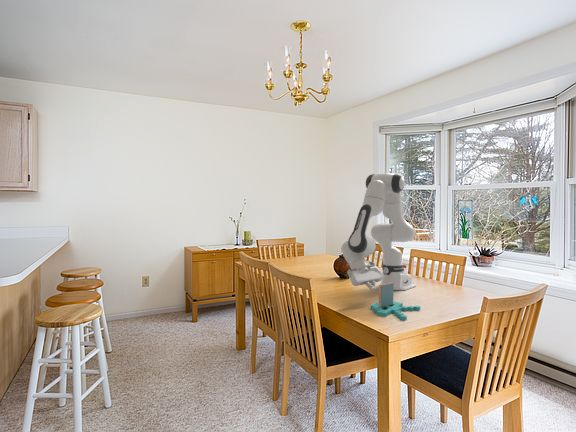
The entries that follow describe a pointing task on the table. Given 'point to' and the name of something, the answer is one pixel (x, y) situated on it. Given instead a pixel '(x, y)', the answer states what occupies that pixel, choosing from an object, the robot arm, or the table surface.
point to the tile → (386, 294)
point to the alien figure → (393, 309)
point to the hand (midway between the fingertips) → (374, 289)
